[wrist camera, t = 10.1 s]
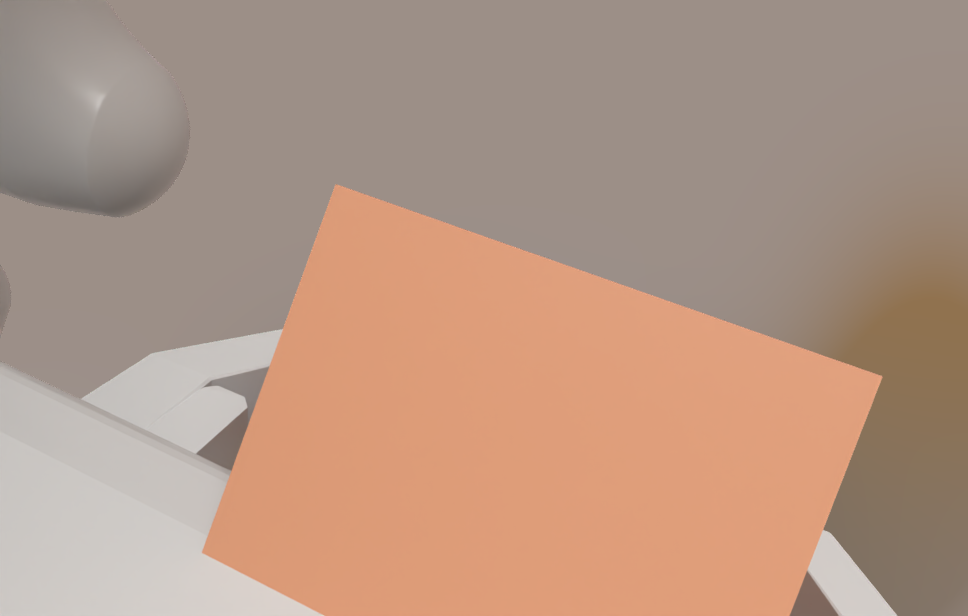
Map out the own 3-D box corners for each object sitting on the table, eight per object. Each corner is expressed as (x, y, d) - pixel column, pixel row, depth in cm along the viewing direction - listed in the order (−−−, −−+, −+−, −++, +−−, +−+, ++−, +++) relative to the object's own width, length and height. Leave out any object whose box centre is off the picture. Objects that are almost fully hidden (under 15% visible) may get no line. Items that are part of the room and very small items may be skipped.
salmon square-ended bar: (659, 951, 4) (882, 376, 3) (160, 666, 4) (335, 183, 4) (611, 411, 29) (637, 342, 29) (542, 384, 30) (567, 316, 30)
